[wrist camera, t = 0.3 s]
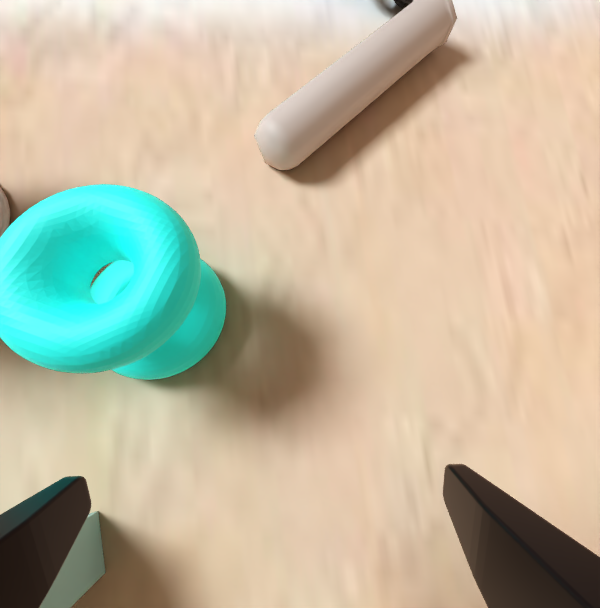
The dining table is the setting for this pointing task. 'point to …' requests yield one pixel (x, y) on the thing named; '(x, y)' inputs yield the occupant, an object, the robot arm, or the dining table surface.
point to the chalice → (4, 213)
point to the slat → (78, 567)
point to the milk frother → (402, 2)
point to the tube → (352, 83)
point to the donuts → (107, 286)
